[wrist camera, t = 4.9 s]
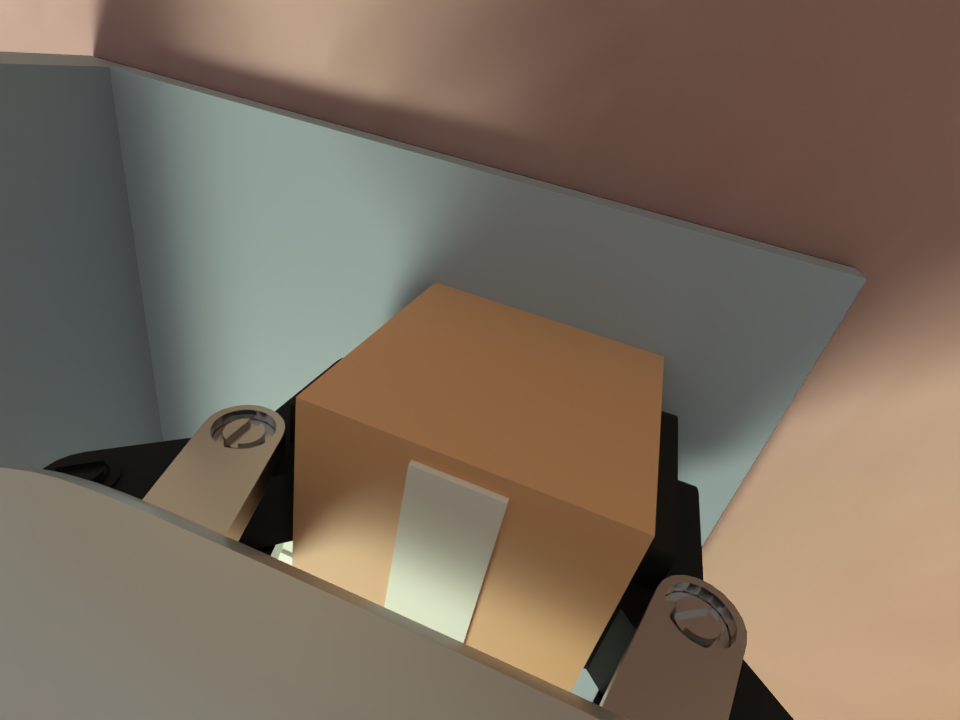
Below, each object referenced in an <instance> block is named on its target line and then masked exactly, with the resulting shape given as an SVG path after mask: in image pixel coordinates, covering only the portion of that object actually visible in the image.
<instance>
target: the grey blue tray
mask: <svg viewBox="0 0 960 720" xmlns="http://www.w3.org/2000/svg"><path fill="white" fill-rule="evenodd" d="M866 280H867V279H866V278H865V276H864V275H863V274H862V273H861V272H860V271H859V270H858V269H856V268H853V267H849V266H845V265H842V264H838V263H835V262H831V261H827V260H824V259H820V258H817V257H813V256H809V255H806V254H802V253H799V252H795V251H791V250H788V249H784V248H781V247H777V246H773V245H770V244H766V243H763V242H759V241H755V240H752V239H748V238H745V237H741V236H737V235H734V234H730V233H727V232H723V231H719V230H716V229H712V228H709V227H705V226H701V225H698V224H694V223H691V222H687V221H683V220H680V219H676V218H673V217H669V216H665V215H662V214H658V213H655V212H651V211H647V210H644V209H640V208H637V207H633V206H629V205H626V204H622V203H619V202H615V201H611V200H608V199H604V198H601V197H597V196H593V195H590V194H586V193H583V192H579V191H575V190H572V189H568V188H565V187H561V186H557V185H554V184H550V183H547V182H543V181H539V180H536V179H532V178H529V177H525V176H521V175H518V174H514V173H511V172H507V171H503V170H500V169H496V168H493V167H489V166H486V165H482V164H478V163H475V162H471V161H468V160H464V159H460V158H457V157H453V156H450V155H446V154H442V153H439V152H435V151H432V150H428V149H424V148H421V147H417V146H414V145H410V144H406V143H403V142H399V141H396V140H392V139H388V138H385V137H381V136H378V135H374V134H370V133H367V132H363V131H360V130H356V129H352V128H349V127H345V126H342V125H338V124H334V123H331V122H327V121H324V120H320V119H316V118H313V117H309V116H306V115H302V114H298V113H295V112H291V111H288V110H284V109H280V108H277V107H273V106H270V105H266V104H262V103H259V102H255V101H252V100H248V99H244V98H241V97H237V96H234V95H230V94H226V93H223V92H219V91H216V90H212V89H208V88H205V87H201V86H198V85H194V84H190V83H187V82H183V81H180V80H176V79H172V78H169V77H165V76H162V75H158V74H154V73H151V72H147V71H144V70H140V69H136V68H133V67H129V66H126V65H122V64H118V63H115V62H111V61H108V60H104V59H100V58H97V57H93V56H83V55H61V54H40V53H18V52H0V464H2V465H15V466H27V467H28V466H33V468H39V469H43V468H45V467H46V466H48V465H50V464H51V463H53V462H54V461H56V460H59V459H61V458H64V457H67V456H69V455H72V454H77V453H82V452H86V451H94V450H102V449H109V448H117V447H124V446H132V445H139V444H147V443H154V442H162V441H169V440H177V439H185V438H192V437H193V436H194V434H195V433H196V432H197V431H198V429H199V428H200V427H201V426H202V424H203V423H204V422H205V421H206V420H207V419H208V418H209V417H210V416H211V415H212V414H214V413H216V412H218V411H220V410H222V409H225V408H229V407H232V406H238V405H258V406H262V407H266V408H269V409H271V410H273V411H276V410H277V409H278V408H279V407H281V406H282V405H283V404H284V403H286V402H287V401H288V400H289V399H290V398H292V397H293V396H294V395H295V394H297V393H298V392H299V391H300V390H302V389H303V388H304V387H305V386H306V385H308V384H309V383H310V382H311V381H313V380H314V379H315V378H316V377H317V376H319V375H320V374H321V373H322V372H324V371H325V370H326V369H327V368H329V367H330V366H331V365H332V364H333V363H335V362H336V361H337V360H339V359H341V358H344V357H345V356H346V355H348V354H349V353H350V352H351V351H352V350H354V349H355V348H356V347H357V346H359V345H360V344H361V343H362V342H363V341H365V340H366V339H367V338H368V337H370V336H371V335H372V334H373V333H374V332H376V331H377V330H378V329H379V328H380V327H382V326H383V325H384V324H385V323H387V322H388V321H389V320H390V319H391V318H393V317H394V316H395V315H396V314H398V313H399V312H400V311H401V310H402V309H404V308H405V307H406V306H407V305H408V304H410V303H411V302H412V301H413V300H415V299H416V298H417V297H418V296H419V295H421V294H422V293H423V292H424V291H426V290H427V289H428V288H429V287H430V286H432V285H433V284H434V283H435V282H437V283H440V284H443V285H446V286H449V287H452V288H455V289H458V290H461V291H464V292H467V293H470V294H473V295H477V296H480V297H483V298H486V299H489V300H492V301H495V302H498V303H501V304H504V305H507V306H510V307H513V308H516V309H520V310H523V311H526V312H529V313H532V314H535V315H538V316H541V317H544V318H547V319H550V320H553V321H556V322H559V323H562V324H566V325H569V326H572V327H575V328H578V329H581V330H584V331H587V332H590V333H593V334H596V335H599V336H602V337H605V338H609V339H612V340H615V341H618V342H621V343H624V344H627V345H630V346H633V347H636V348H639V349H642V350H645V351H648V352H652V353H655V354H658V355H661V356H664V368H663V388H662V407H661V411H664V412H667V413H670V414H673V415H676V416H678V480H680V481H683V482H685V483H688V484H691V485H694V486H696V487H697V488H698V492H699V506H700V526H701V546H702V545H703V544H704V542H705V541H706V539H707V537H708V536H709V534H710V533H711V531H712V529H713V528H714V526H715V524H716V523H717V521H718V520H719V518H720V516H721V515H722V513H723V512H724V510H725V508H726V507H727V505H728V503H729V502H730V500H731V499H732V497H733V495H734V494H735V492H736V491H737V489H738V487H739V486H740V484H741V482H742V481H743V479H744V478H745V476H746V474H747V473H748V471H749V469H750V468H751V466H752V465H753V463H754V461H755V460H756V458H757V457H758V455H759V453H760V452H761V450H762V448H763V447H764V445H765V444H766V442H767V440H768V439H769V437H770V436H771V434H772V432H773V431H774V429H775V427H776V426H777V424H778V423H779V421H780V419H781V418H782V416H783V415H784V413H785V411H786V410H787V408H788V406H789V405H790V403H791V402H792V400H793V398H794V397H795V395H796V393H797V392H798V390H799V389H800V387H801V385H802V384H803V382H804V381H805V379H806V377H807V376H808V374H809V372H810V371H811V369H812V368H813V366H814V364H815V363H816V361H817V360H818V358H819V356H820V355H821V353H822V351H823V350H824V348H825V347H826V345H827V343H828V342H829V340H830V339H831V337H832V335H833V334H834V332H835V330H836V329H837V327H838V326H839V324H840V322H841V321H842V319H843V317H844V316H845V314H846V313H847V311H848V309H849V308H850V306H851V305H852V303H853V301H854V300H855V298H856V296H857V295H858V293H859V292H860V290H861V288H862V287H863V285H864V284H865V282H866ZM292 552H293V541H290V542H285V543H283V548H282V551H281V553H280V555H279V557H278V560H280V561H283V562H285V563H287V564H289V565H292ZM597 689H598V688H597V686H596V685H595V683H594V681H593V680H592V678H591V676H590V675H589V673H588V671H587V669H584V668H583V669H582V671H581V673H580V675H579V677H578V679H577V681H576V682H575V684H574V686H573V688H572V690H571V693H573V694H575V695H577V696H579V697H582V698H584V699H586V700H588V701H590V702H591V701H592V699H593V697H594V695H595V693H596V691H597Z"/></svg>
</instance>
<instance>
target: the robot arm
mask: <svg viewBox="0 0 960 720" xmlns="http://www.w3.org/2000/svg"><path fill="white" fill-rule="evenodd" d="M341 359H343V358H341ZM341 359H339V360H337V361H336V362H335V363H333V364H332V365H331V366H330V367H329V368H327V369H326V370H325V371H324V372H322V373H321V374H320V375H319V376H317V377H316V378H315V379H314V380H313V381H311V382H310V383H309V384H308V385H306V386H305V387H304V388H303V389H302V390H300V391H299V392H298V393H297V394H295V395H294V396H293V397H292V398H290V399H289V400H288V401H287V402H286V403H284V404H283V405H282V406H281V407H279V408H278V409H277V410H276V411H273V410H271V409H269V408H266V407H262V406H258V405H238V406H232V407H229V408H225V409H222V410H220V411H218V412H216V413H214V414H212V415H211V416H210V417H209V418H208V419H207V420H206V421H205V422H204V423H203V424H202V426H201V427H200V428H199V429H198V431H197V432H196V433H195V434H194V436H193V437H192V438H185V439H177V440H169V441H162V442H154V443H147V444H139V445H132V446H124V447H117V448H109V449H102V450H94V451H86V452H82V453H77V454H72V455H69V456H67V457H64V458H61V459H59V460H56V461H54V462H53V463H51V464H50V465H48V466H46V467H45V468H43V469H39V468H33V466H28V467H27V466H15V465H2V464H0V720H794V719H793V718H792V717H791V716H790V715H789V713H788V712H787V711H786V710H785V709H784V708H783V706H782V705H781V704H780V703H779V702H778V700H777V699H776V698H775V697H774V696H773V694H772V693H771V692H770V691H769V690H768V688H767V687H766V686H765V685H764V684H763V682H762V681H761V680H760V679H759V678H758V676H757V675H756V674H755V673H754V672H753V670H752V669H751V668H750V667H749V666H748V665H747V663H746V662H745V661H744V660H743V657H744V653H745V649H746V645H747V631H746V628H745V624H744V621H743V619H742V617H741V615H740V614H739V612H738V610H737V609H736V607H735V606H734V605H733V603H732V602H731V601H730V600H729V599H728V598H727V597H726V596H725V595H724V594H723V593H722V592H720V591H719V590H718V589H716V588H715V587H714V586H712V585H711V584H709V583H707V582H705V581H703V566H702V546H701V526H700V506H699V492H698V488H697V487H696V486H694V485H691V484H688V483H685V482H683V481H680V480H678V416H676V415H673V414H670V413H667V412H664V411H661V426H660V445H659V464H658V483H657V503H656V522H655V537H654V538H653V540H652V542H651V544H650V546H649V548H648V550H647V551H646V553H645V555H644V557H643V559H642V561H641V562H640V564H639V566H638V568H637V570H636V572H635V574H634V575H633V577H632V579H631V581H630V583H629V585H628V586H627V588H626V590H625V592H624V594H623V596H622V597H621V599H620V601H619V603H618V605H617V607H616V609H615V610H614V612H613V614H612V616H611V618H610V620H609V621H608V623H607V625H606V627H605V629H604V631H603V633H602V634H601V636H600V638H599V640H598V642H597V644H596V645H595V647H594V649H593V651H592V653H591V655H590V657H589V658H588V660H587V662H586V664H585V666H584V669H587V671H588V673H589V675H590V676H591V678H592V680H593V681H594V683H595V685H596V686H597V688H598V689H597V691H596V693H595V695H594V697H593V699H592V701H591V702H590V701H588V700H586V699H584V698H582V697H579V696H577V695H575V694H573V693H571V692H568V691H566V690H564V689H562V688H560V687H558V686H555V685H553V684H551V683H549V682H547V681H545V680H542V679H540V678H538V677H536V676H534V675H531V674H529V673H527V672H525V671H523V670H521V669H518V668H516V667H514V666H512V665H510V664H508V663H505V662H503V661H501V660H499V659H497V658H494V657H492V656H490V655H488V654H486V653H484V652H481V651H479V650H477V649H475V648H473V647H471V646H468V645H466V644H464V643H462V642H460V641H457V640H455V639H453V638H451V637H449V636H446V635H444V634H442V633H440V632H438V631H435V630H433V629H431V628H429V627H427V626H424V625H422V624H420V623H418V622H416V621H413V620H411V619H409V618H407V617H405V616H402V615H400V614H398V613H396V612H394V611H391V610H389V609H387V608H385V607H383V606H380V605H378V604H376V603H374V602H372V601H369V600H367V599H365V598H363V597H360V596H358V595H356V594H354V593H352V592H349V591H347V590H345V589H343V588H341V587H338V586H336V585H334V584H332V583H329V582H327V581H325V580H323V579H321V578H318V577H316V576H314V575H312V574H310V573H307V572H305V571H303V570H301V569H298V568H296V567H294V566H292V565H289V564H287V563H285V562H283V561H280V560H278V557H279V555H280V553H281V551H282V548H283V543H285V542H290V541H293V506H294V460H295V414H296V396H298V395H299V394H300V393H301V392H303V391H304V390H305V389H306V388H307V387H309V386H310V385H311V384H312V383H313V382H315V381H316V380H317V379H318V378H320V377H321V376H322V375H323V374H324V373H326V372H327V371H328V370H329V369H331V368H332V367H333V366H334V365H335V364H337V363H338V362H339V361H340V360H341Z"/></svg>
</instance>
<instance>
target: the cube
mask: <svg viewBox="0 0 960 720" xmlns="http://www.w3.org/2000/svg"><path fill="white" fill-rule="evenodd" d="M663 368H664V356H661V355H658V354H655V353H652V352H648V351H645V350H642V349H639V348H636V347H633V346H630V345H627V344H624V343H621V342H618V341H615V340H612V339H609V338H605V337H602V336H599V335H596V334H593V333H590V332H587V331H584V330H581V329H578V328H575V327H572V326H569V325H566V324H562V323H559V322H556V321H553V320H550V319H547V318H544V317H541V316H538V315H535V314H532V313H529V312H526V311H523V310H520V309H516V308H513V307H510V306H507V305H504V304H501V303H498V302H495V301H492V300H489V299H486V298H483V297H480V296H477V295H473V294H470V293H467V292H464V291H461V290H458V289H455V288H452V287H449V286H446V285H443V284H440V283H437V282H435V283H434V284H433V285H432V286H430V287H429V288H428V289H427V290H426V291H424V292H423V293H422V294H421V295H419V296H418V297H417V298H416V299H415V300H413V301H412V302H411V303H410V304H408V305H407V306H406V307H405V308H404V309H402V310H401V311H400V312H399V313H398V314H396V315H395V316H394V317H393V318H391V319H390V320H389V321H388V322H387V323H385V324H384V325H383V326H382V327H380V328H379V329H378V330H377V331H376V332H374V333H373V334H372V335H371V336H370V337H368V338H367V339H366V340H365V341H363V342H362V343H361V344H360V345H359V346H357V347H356V348H355V349H354V350H352V351H351V352H350V353H349V354H348V355H346V356H345V357H344V358H343V359H341V360H340V361H339V362H338V363H337V364H335V365H334V366H333V367H332V368H331V369H329V370H328V371H327V372H326V373H324V374H323V375H322V376H321V377H320V378H318V379H317V380H316V381H315V382H313V383H312V384H311V385H310V386H309V387H307V388H306V389H305V390H304V391H303V392H301V393H300V394H299V395H298V396H296V414H295V460H294V506H293V552H292V566H294V567H296V568H298V569H301V570H303V571H305V572H307V573H310V574H312V575H314V576H316V577H318V578H321V579H323V580H325V581H327V582H329V583H332V584H334V585H336V586H338V587H341V588H343V589H345V590H347V591H349V592H352V593H354V594H356V595H358V596H360V597H363V598H365V599H367V600H369V601H372V602H374V603H376V604H378V605H380V606H383V607H385V608H387V609H389V610H391V611H394V612H396V613H398V614H400V615H402V616H405V617H407V618H409V619H411V620H413V621H416V622H418V623H420V624H422V625H424V626H427V627H429V628H431V629H433V630H435V631H438V632H440V633H442V634H444V635H446V636H449V637H451V638H453V639H455V640H457V641H460V642H462V643H464V644H466V645H468V646H471V647H473V648H475V649H477V650H479V651H481V652H484V653H486V654H488V655H490V656H492V657H494V658H497V659H499V660H501V661H503V662H505V663H508V664H510V665H512V666H514V667H516V668H518V669H521V670H523V671H525V672H527V673H529V674H531V675H534V676H536V677H538V678H540V679H542V680H545V681H547V682H549V683H551V684H553V685H555V686H558V687H560V688H562V689H564V690H566V691H568V692H571V690H572V688H573V686H574V684H575V682H576V681H577V679H578V677H579V675H580V673H581V671H582V669H583V668H584V666H585V664H586V662H587V660H588V658H589V657H590V655H591V653H592V651H593V649H594V647H595V645H596V644H597V642H598V640H599V638H600V636H601V634H602V633H603V631H604V629H605V627H606V625H607V623H608V621H609V620H610V618H611V616H612V614H613V612H614V610H615V609H616V607H617V605H618V603H619V601H620V599H621V597H622V596H623V594H624V592H625V590H626V588H627V586H628V585H629V583H630V581H631V579H632V577H633V575H634V574H635V572H636V570H637V568H638V566H639V564H640V562H641V561H642V559H643V557H644V555H645V553H646V551H647V550H648V548H649V546H650V544H651V542H652V540H653V538H654V537H655V522H656V503H657V483H658V464H659V445H660V426H661V407H662V388H663Z"/></svg>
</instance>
